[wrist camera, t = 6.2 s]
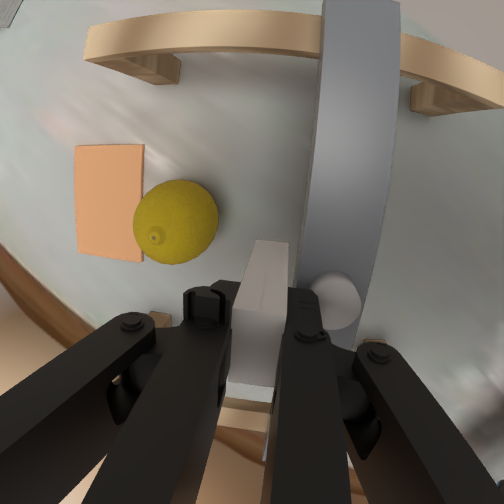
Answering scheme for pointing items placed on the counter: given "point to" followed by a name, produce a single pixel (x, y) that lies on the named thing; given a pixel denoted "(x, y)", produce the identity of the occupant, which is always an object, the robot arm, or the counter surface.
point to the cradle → (281, 43)
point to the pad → (108, 199)
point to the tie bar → (349, 160)
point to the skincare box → (8, 11)
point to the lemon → (175, 222)
